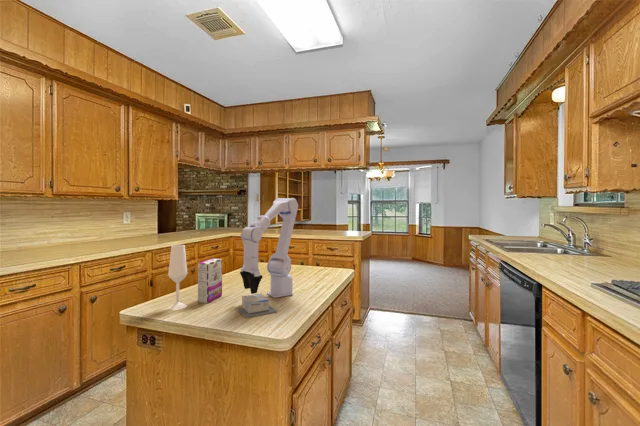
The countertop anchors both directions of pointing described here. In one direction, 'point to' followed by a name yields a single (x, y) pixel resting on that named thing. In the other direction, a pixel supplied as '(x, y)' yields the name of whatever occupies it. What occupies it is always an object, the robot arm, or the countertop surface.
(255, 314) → the slate mat
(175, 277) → the champagne flute
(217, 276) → the candy bar box
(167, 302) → the countertop surface
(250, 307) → the medicine box
